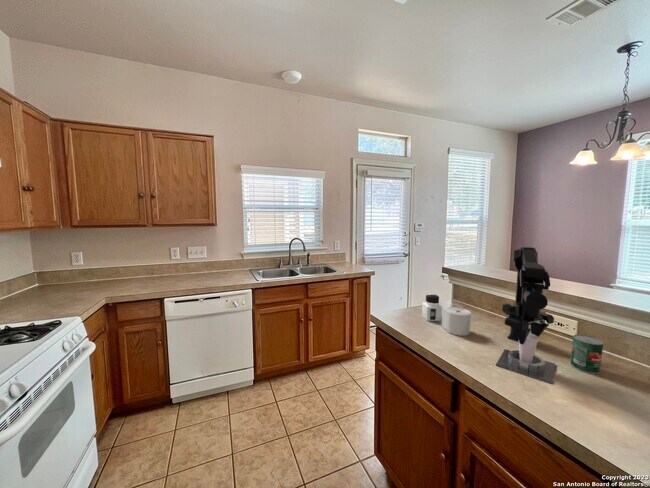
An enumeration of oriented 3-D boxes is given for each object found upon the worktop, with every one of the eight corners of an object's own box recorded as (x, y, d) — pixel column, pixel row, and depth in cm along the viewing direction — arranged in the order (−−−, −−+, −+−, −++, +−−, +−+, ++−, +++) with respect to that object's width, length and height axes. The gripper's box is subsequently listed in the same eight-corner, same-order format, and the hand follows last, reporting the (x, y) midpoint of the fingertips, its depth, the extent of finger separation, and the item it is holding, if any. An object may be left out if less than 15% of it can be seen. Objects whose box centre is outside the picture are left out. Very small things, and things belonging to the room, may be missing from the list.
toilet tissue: (471, 337, 123) (473, 316, 122) (443, 333, 127) (444, 313, 126) (467, 328, 133) (468, 308, 132) (441, 325, 137) (442, 306, 136)
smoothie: (520, 364, 98) (523, 327, 96) (512, 355, 104) (514, 320, 103) (540, 366, 97) (544, 328, 95) (530, 356, 103) (534, 321, 101)
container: (441, 321, 142) (442, 297, 141) (426, 321, 142) (427, 297, 141) (435, 315, 150) (436, 293, 149) (421, 315, 150) (422, 292, 149)
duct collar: (504, 350, 112) (505, 343, 111) (555, 364, 101) (556, 357, 100) (495, 365, 100) (496, 357, 100) (551, 384, 89) (552, 375, 89)
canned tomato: (571, 359, 104) (573, 332, 103) (600, 368, 99) (603, 339, 98) (569, 367, 99) (572, 339, 98) (600, 376, 93) (603, 346, 92)
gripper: (524, 292, 109) (521, 329, 110) (492, 297, 102) (489, 337, 104) (556, 300, 98) (552, 341, 100) (522, 307, 92) (519, 351, 93)
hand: (527, 342), depth 100 cm, fingers closed on smoothie, 6 cm apart
